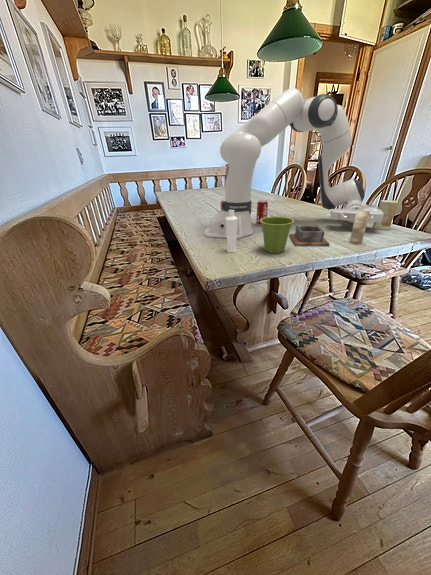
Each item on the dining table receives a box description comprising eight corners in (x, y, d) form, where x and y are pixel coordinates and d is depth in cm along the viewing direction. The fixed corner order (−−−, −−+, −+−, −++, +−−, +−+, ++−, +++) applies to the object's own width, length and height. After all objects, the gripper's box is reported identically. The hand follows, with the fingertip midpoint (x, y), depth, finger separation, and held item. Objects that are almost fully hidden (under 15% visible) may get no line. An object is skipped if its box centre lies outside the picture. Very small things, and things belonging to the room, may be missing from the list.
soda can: (266, 223, 127) (267, 199, 122) (266, 226, 123) (268, 201, 117) (255, 223, 128) (257, 199, 122) (256, 226, 123) (257, 201, 118)
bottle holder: (294, 246, 96) (296, 233, 94) (288, 236, 107) (290, 224, 105) (329, 246, 95) (331, 233, 93) (319, 236, 106) (321, 224, 104)
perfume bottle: (229, 253, 91) (229, 212, 84) (223, 250, 94) (223, 210, 87) (239, 251, 93) (240, 210, 85) (233, 248, 96) (234, 208, 89)
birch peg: (351, 244, 96) (359, 213, 90) (347, 240, 100) (354, 210, 94) (363, 244, 96) (372, 212, 90) (358, 240, 100) (366, 210, 94)
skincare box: (373, 229, 113) (381, 201, 107) (372, 226, 116) (379, 199, 110) (389, 230, 111) (398, 202, 105) (388, 227, 114) (396, 200, 108)
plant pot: (281, 243, 99) (284, 215, 94) (296, 254, 89) (300, 222, 83) (253, 246, 97) (255, 217, 92) (265, 257, 87) (267, 225, 81)
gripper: (331, 204, 116) (331, 210, 104) (381, 206, 109) (387, 213, 97) (328, 217, 119) (328, 225, 107) (377, 220, 112) (382, 228, 101)
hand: (357, 219), depth 102 cm, fingers open, 8 cm apart
